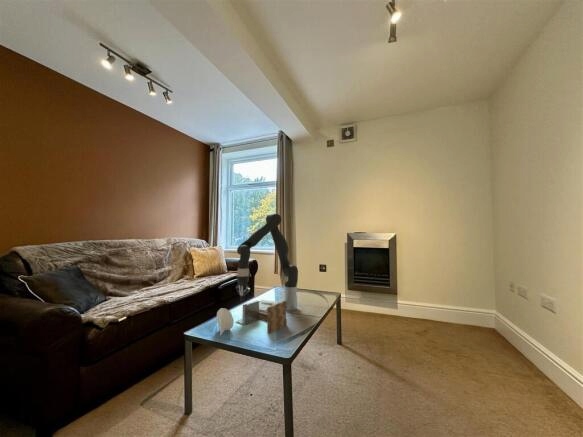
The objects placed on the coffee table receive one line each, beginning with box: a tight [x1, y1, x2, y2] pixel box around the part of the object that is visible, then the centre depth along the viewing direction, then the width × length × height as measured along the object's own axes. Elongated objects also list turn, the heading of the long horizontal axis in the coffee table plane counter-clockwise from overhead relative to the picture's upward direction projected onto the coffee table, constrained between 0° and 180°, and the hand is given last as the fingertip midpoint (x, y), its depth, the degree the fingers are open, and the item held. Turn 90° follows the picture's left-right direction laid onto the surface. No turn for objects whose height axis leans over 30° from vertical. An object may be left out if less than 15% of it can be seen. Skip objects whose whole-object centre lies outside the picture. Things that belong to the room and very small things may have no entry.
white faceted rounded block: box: [216, 307, 234, 336], centre depth 137 cm, size 10×11×15 cm
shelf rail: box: [258, 312, 288, 327], centre depth 158 cm, size 2×31×4 cm, turn 55°
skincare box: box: [258, 299, 280, 314], centre depth 175 cm, size 21×5×16 cm
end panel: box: [266, 300, 287, 334], centre depth 144 cm, size 16×2×15 cm, turn 145°
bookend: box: [235, 300, 260, 326], centre depth 157 cm, size 13×8×12 cm, turn 145°
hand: (242, 301), depth 160 cm, fingers closed
